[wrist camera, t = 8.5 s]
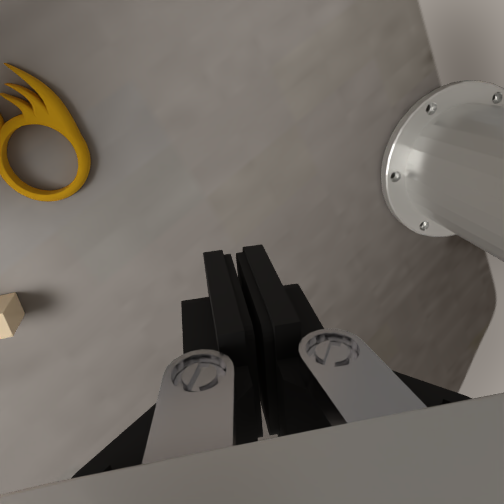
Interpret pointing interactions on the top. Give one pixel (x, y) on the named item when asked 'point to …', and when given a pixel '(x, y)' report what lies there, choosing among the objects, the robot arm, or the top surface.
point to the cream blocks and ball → (10, 314)
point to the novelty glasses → (48, 114)
